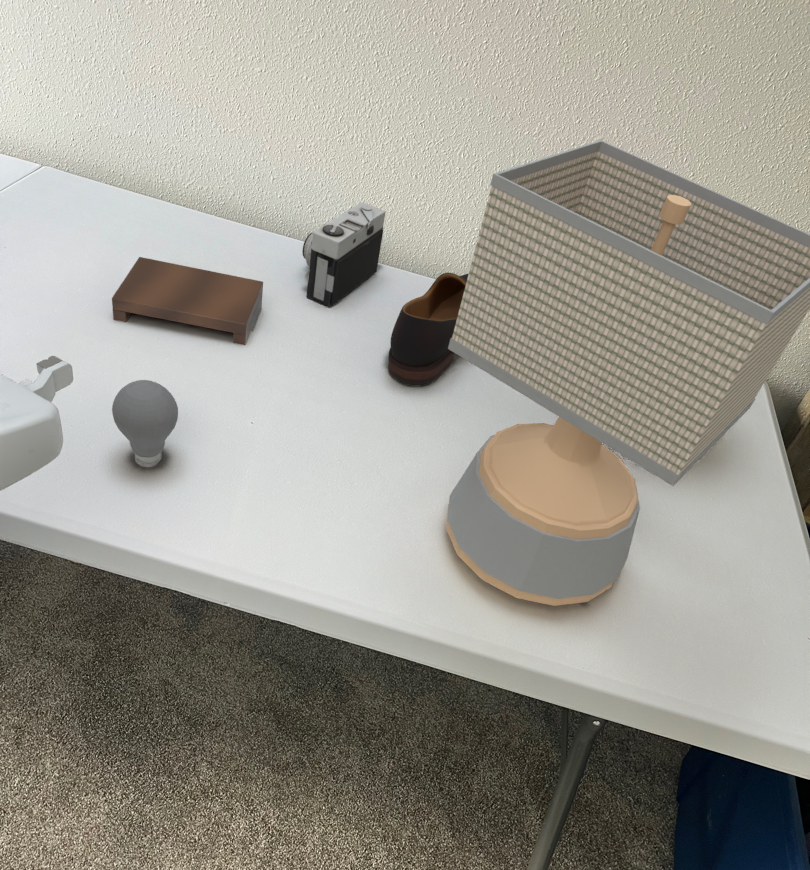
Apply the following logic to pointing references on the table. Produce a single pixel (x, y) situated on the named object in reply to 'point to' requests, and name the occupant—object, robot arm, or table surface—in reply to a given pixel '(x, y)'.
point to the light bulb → (145, 418)
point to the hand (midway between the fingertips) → (17, 341)
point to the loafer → (426, 332)
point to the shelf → (190, 297)
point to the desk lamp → (609, 354)
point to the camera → (343, 253)
